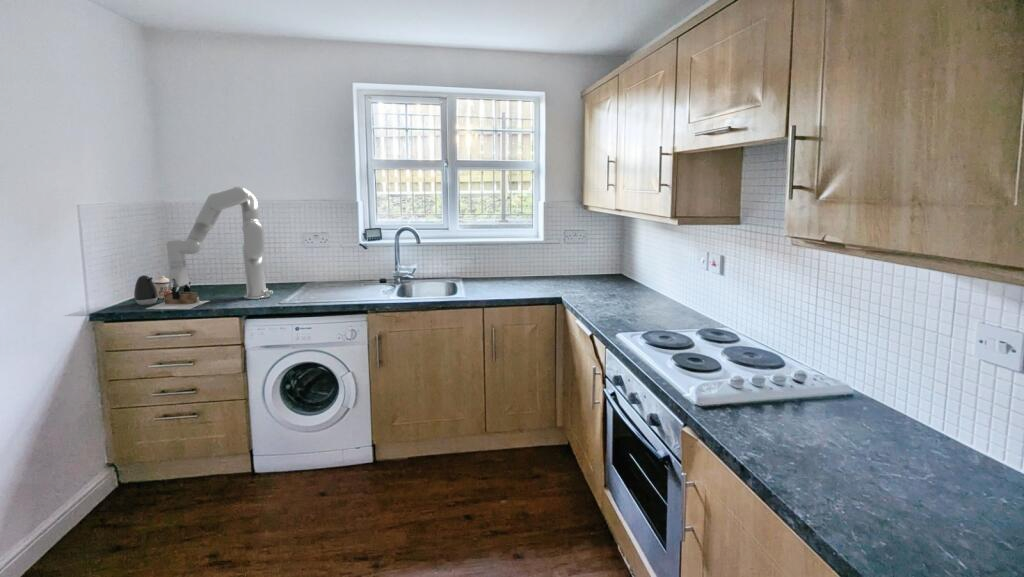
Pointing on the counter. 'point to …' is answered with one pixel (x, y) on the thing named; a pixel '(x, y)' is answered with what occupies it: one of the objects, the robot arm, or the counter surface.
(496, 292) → the counter surface
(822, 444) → the counter surface
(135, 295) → the dark grey egg-shaped piece
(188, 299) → the frame
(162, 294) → the teacup with lid
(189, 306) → the wall board
